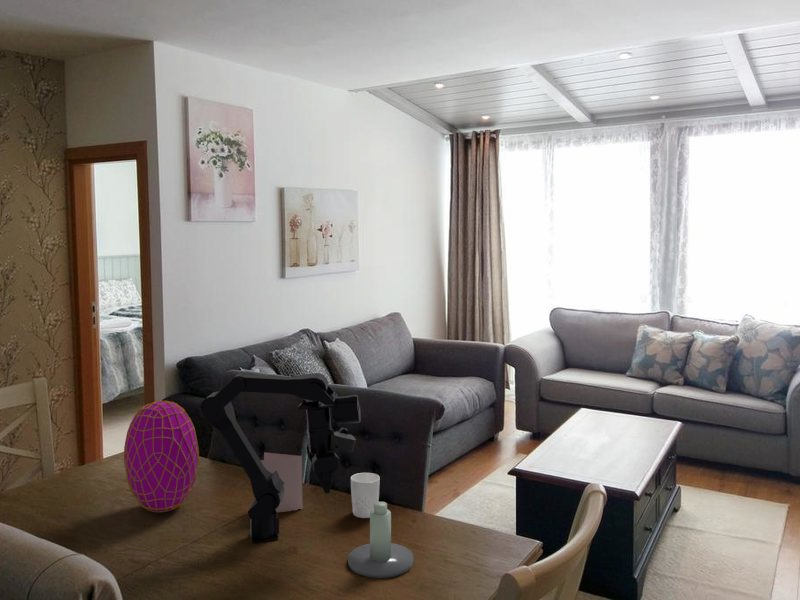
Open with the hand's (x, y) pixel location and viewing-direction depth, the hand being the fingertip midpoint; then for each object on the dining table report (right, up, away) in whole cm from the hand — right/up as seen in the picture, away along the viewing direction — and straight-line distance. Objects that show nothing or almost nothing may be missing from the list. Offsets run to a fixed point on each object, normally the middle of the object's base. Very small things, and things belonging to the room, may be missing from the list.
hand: (324, 486), depth 167 cm
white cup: (+9, -12, +16) cm, 22 cm away
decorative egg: (-46, -12, +18) cm, 51 cm away
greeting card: (-14, -12, +17) cm, 25 cm away
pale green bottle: (+14, -13, -12) cm, 23 cm away
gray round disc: (+14, -14, -12) cm, 23 cm away
